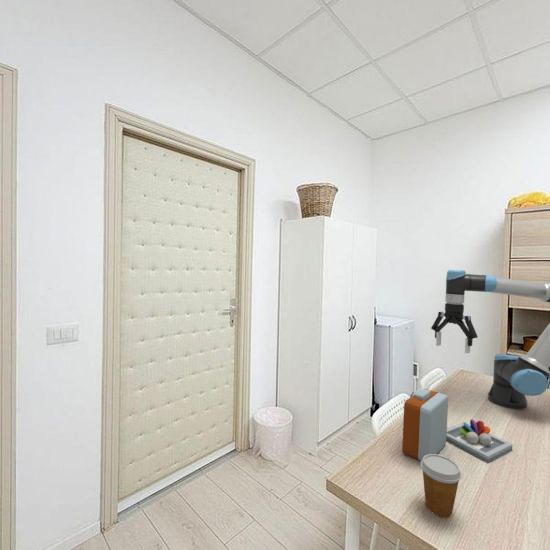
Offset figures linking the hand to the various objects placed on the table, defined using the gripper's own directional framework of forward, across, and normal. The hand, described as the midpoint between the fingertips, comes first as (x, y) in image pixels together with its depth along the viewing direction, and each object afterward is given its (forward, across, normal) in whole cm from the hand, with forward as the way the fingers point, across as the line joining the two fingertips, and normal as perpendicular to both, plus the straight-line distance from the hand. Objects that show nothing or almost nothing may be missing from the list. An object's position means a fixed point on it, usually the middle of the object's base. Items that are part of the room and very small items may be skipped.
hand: (452, 349), depth 143 cm
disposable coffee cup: (+27, +36, -63) cm, 77 cm away
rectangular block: (+27, +17, -42) cm, 53 cm away
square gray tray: (+27, +23, -22) cm, 42 cm away
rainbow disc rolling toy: (+26, +23, -22) cm, 41 cm away
